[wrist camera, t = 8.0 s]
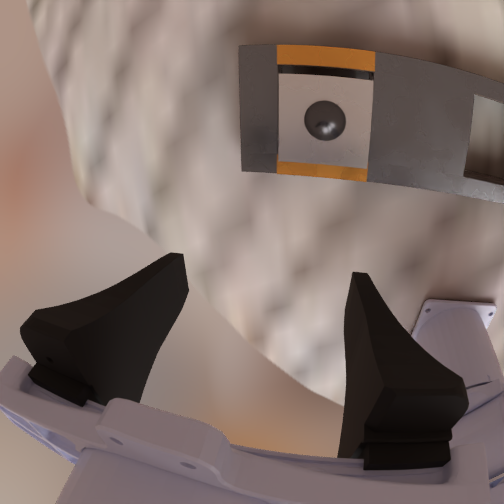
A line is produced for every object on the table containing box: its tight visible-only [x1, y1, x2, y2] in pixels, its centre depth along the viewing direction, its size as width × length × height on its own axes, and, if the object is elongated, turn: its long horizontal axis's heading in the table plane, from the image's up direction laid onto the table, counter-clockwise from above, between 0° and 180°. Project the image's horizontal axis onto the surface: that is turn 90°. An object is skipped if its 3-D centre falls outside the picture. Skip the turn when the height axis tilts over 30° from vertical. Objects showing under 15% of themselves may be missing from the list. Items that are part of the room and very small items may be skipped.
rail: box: [239, 45, 504, 204], centre depth 16 cm, size 8×22×2 cm, turn 92°
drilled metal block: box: [278, 74, 374, 169], centre depth 15 cm, size 4×4×7 cm
